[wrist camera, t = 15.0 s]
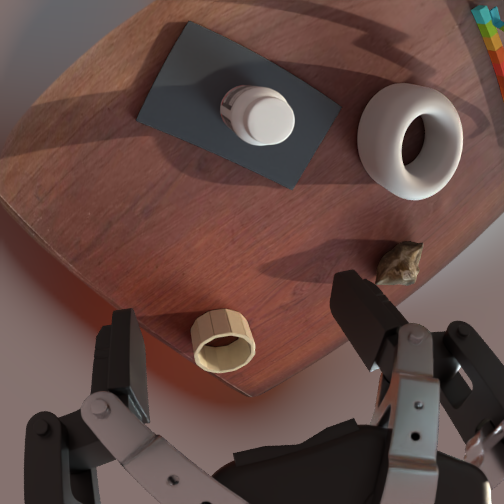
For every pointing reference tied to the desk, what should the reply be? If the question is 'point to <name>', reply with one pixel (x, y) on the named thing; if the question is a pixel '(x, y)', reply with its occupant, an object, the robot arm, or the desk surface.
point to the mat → (210, 97)
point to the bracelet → (220, 326)
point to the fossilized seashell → (400, 264)
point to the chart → (492, 38)
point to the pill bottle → (257, 114)
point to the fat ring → (392, 133)
